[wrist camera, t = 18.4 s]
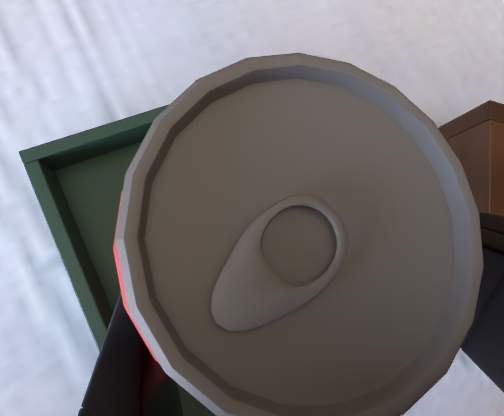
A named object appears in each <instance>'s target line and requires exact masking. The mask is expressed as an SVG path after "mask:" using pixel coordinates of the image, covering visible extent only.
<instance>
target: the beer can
mask: <svg viewBox="0 0 504 416" xmlns="http://www.w3.org/2000/svg"><path fill="white" fill-rule="evenodd" d="M113 251H114V256H115V262H116V267H117V272H118V278H119V283H120V289H121V294H122V299H123V305H124V308H125V310H126V311H127V313H128V315H129V316H130V318H131V320H132V322H133V323H134V325H135V327H136V328H137V330H138V332H139V334H140V335H141V337H142V339H143V341H144V342H145V344H146V346H147V347H148V349H149V351H150V353H151V354H152V356H153V358H154V359H155V360H156V361H157V362H158V363H160V365H161V367H162V368H163V370H164V372H165V373H166V374H167V375H168V376H170V377H171V378H172V379H173V380H174V381H176V382H177V383H178V384H179V385H180V386H182V387H183V388H184V389H185V390H186V391H188V392H189V393H190V394H191V395H192V396H194V397H195V398H196V399H197V400H198V401H200V402H201V403H202V404H203V405H204V406H205V407H207V408H208V409H209V410H210V411H211V412H213V413H214V414H215V415H216V416H400V415H402V414H405V413H406V412H407V411H408V410H409V409H410V408H411V407H412V406H413V405H414V404H415V403H416V402H417V401H418V400H419V399H420V398H421V397H422V396H423V395H424V394H425V393H426V392H427V391H428V390H429V389H431V388H432V387H433V386H434V385H435V384H436V383H437V382H438V381H439V380H440V379H441V378H442V377H443V376H444V375H445V374H446V373H447V371H448V369H449V368H450V366H451V364H452V362H453V360H454V358H455V356H456V354H457V352H458V350H459V348H460V346H461V344H462V343H463V341H464V339H465V337H466V335H467V333H468V331H469V329H470V327H471V325H472V323H473V320H474V315H475V309H476V304H477V299H478V293H479V288H480V283H481V277H482V272H483V267H484V265H483V254H482V242H481V230H480V219H479V212H478V209H477V206H476V203H475V200H474V198H473V195H472V192H471V189H470V186H469V183H468V181H467V178H466V175H465V172H464V169H463V166H462V164H461V162H460V161H459V159H458V158H457V156H456V155H455V153H454V152H453V150H452V149H451V147H450V146H449V144H448V143H447V141H446V140H445V138H444V137H443V135H442V134H441V132H440V131H439V129H438V128H437V126H436V125H435V123H434V122H433V121H432V120H431V119H430V118H429V117H428V116H427V115H426V114H425V113H423V112H422V111H421V110H420V109H419V108H418V107H417V106H416V105H415V104H413V103H412V102H411V101H410V100H409V99H408V98H407V97H406V96H405V95H403V94H402V93H401V92H400V91H399V90H398V89H397V88H396V87H394V86H393V85H391V84H389V83H387V82H385V81H383V80H381V79H379V78H377V77H375V76H373V75H371V74H369V73H367V72H365V71H363V70H361V69H359V68H357V67H356V66H354V65H352V64H350V63H346V62H341V61H336V60H331V59H326V58H321V57H317V56H312V55H307V54H302V53H292V54H282V55H272V56H262V57H251V58H245V59H243V60H241V61H239V62H236V63H234V64H232V65H229V66H227V67H225V68H223V69H220V70H218V71H216V72H214V73H211V74H209V75H207V76H204V77H202V78H200V79H198V80H196V81H195V82H194V83H193V84H192V85H191V86H190V87H189V88H187V89H186V90H185V91H184V92H183V93H182V94H181V95H180V96H179V97H178V98H177V99H176V100H174V101H173V102H172V103H171V104H170V105H169V106H168V107H167V108H166V109H165V110H164V111H163V112H161V113H160V114H159V115H158V116H157V117H156V118H155V119H154V121H153V123H152V125H151V126H150V128H149V130H148V132H147V134H146V136H145V138H144V140H143V142H142V143H141V145H140V147H139V149H138V151H137V153H136V155H135V157H134V158H133V160H132V162H131V164H130V166H129V168H128V170H127V172H126V174H125V179H124V186H123V191H122V193H121V200H120V206H119V213H118V219H117V226H116V233H115V239H114V246H113Z"/></svg>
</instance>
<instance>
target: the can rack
mask: <svg viewBox="0 0 504 416" xmlns="http://www.w3.org/2000/svg"><path fill="white" fill-rule="evenodd" d="M438 129H439V131H440V132H441V134H442V135H443V137H444V138H445V140H446V141H447V143H448V144H449V146H450V147H451V149H452V150H453V152H454V153H455V155H456V156H457V158H458V159H459V161H460V162H461V164H462V166H463V169H464V172H465V175H466V178H467V181H468V183H469V186H470V189H471V192H472V195H473V198H474V200H475V203H476V206H477V209H478V211H481V212H486V213H491V214H497V215H503V216H504V104H501V103H498V102H495V101H491V100H490V101H487V102H486V103H484V104H482V105H480V106H478V107H476V108H474V109H472V110H471V111H469V112H467V113H465V114H463V115H461V116H459V117H458V118H456V119H454V120H452V121H450V122H448V123H446V124H444V125H443V126H441V127H439V128H438Z"/></svg>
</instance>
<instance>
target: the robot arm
mask: <svg viewBox="0 0 504 416" xmlns="http://www.w3.org/2000/svg"><path fill="white" fill-rule="evenodd" d="M478 212H479V219H480V230H481V242H482V254H483V265H484V267H483V272H482V277H481V283H480V288H479V293H478V299H477V304H476V309H475V315H474V320H473V323H472V325H471V327H470V329H469V331H468V333H467V335H466V337H465V339H464V341H463V343H462V344H461V346H460V348H462V350H463V351H464V352H465V353H466V354H467V356H468V357H469V358H470V359H471V360H472V361H473V362H474V363H475V364H476V365H477V366H478V367H479V368H480V369H481V370H482V371H483V372H484V373H485V374H486V375H487V376H488V377H489V378H490V379H491V380H492V381H493V382H494V383H495V384H496V385H497V386H498V387H499V388H500V389H501V390H502V391H503V392H504V216H503V215H497V214H491V213H486V212H481V211H478ZM82 407H83V408H81V409H80V410H79V413H78V416H184V415H183V410H182V405H181V400H180V395H179V391H178V386H177V382H176V381H174V380H173V379H172V378H171V377H170V376H168V375H167V374H166V373H165V372H164V370H163V368H162V367H161V365H160V363H158V362H157V361H156V360H155V359H154V358H153V356H152V354H151V353H150V351H149V349H148V347H147V346H146V344H145V342H144V341H143V339H142V337H141V335H140V334H139V332H138V330H137V328H136V327H135V325H134V323H133V322H132V320H131V318H130V316H129V315H128V313H127V311H126V310H125V308H124V305H123V299H122V294H121V292H120V295H119V298H118V301H117V304H116V307H115V310H114V313H113V315H112V318H111V321H110V324H109V327H108V330H107V333H106V336H105V339H104V342H103V344H102V347H101V350H100V353H99V356H98V359H97V362H96V365H95V368H94V370H93V373H92V376H91V379H90V382H89V385H88V388H87V391H86V394H85V397H84V399H83V402H82Z"/></svg>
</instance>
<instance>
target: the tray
mask: <svg viewBox="0 0 504 416" xmlns="http://www.w3.org/2000/svg"><path fill="white" fill-rule="evenodd" d="M169 105H170V104H169ZM169 105H166V106H163V107H160V108H157V109H153V110H150V111H147V112H144V113H141V114H137V115H134V116H131V117H128V118H125V119H122V120H118V121H115V122H112V123H109V124H106V125H102V126H99V127H96V128H93V129H90V130H86V131H83V132H80V133H77V134H74V135H70V136H67V137H64V138H61V139H58V140H55V141H51V142H48V143H45V144H42V145H39V146H35V147H32V148H29V149H26V150H23V151H20V152H19V154H20V157H21V159H22V162H23V163H24V166H25V169H26V171H27V174H28V176H29V179H30V181H31V184H32V186H33V189H34V191H35V194H36V196H37V199H38V201H39V204H40V206H41V209H42V211H43V214H44V216H45V219H46V221H47V224H48V226H49V228H50V231H51V233H52V236H53V238H54V241H55V243H56V246H57V248H58V251H59V253H60V256H61V258H62V261H63V263H64V266H65V268H66V271H67V273H68V276H69V278H70V281H71V283H72V286H73V288H74V291H75V293H76V296H77V298H78V301H79V303H80V306H81V308H82V311H83V313H84V316H85V318H86V320H87V323H88V325H89V328H90V330H91V333H92V335H93V338H94V340H95V343H96V345H97V348H98V350H99V353H100V350H101V347H102V344H103V342H104V339H105V336H106V333H107V330H108V327H109V324H110V321H111V318H112V315H113V313H114V310H115V307H116V304H117V301H118V298H119V295H120V292H121V289H120V283H119V278H118V272H117V267H116V262H115V256H114V251H113V246H114V239H115V233H116V226H117V219H118V213H119V206H120V200H121V193H122V191H123V186H124V179H125V174H126V172H127V170H128V168H129V166H130V164H131V162H132V160H133V158H134V157H135V155H136V153H137V151H138V149H139V147H140V145H141V143H142V142H143V140H144V138H145V136H146V134H147V132H148V130H149V128H150V126H151V125H152V123H153V121H154V119H155V118H156V117H157V116H158V115H159V114H160V113H161V112H163V111H164V110H165V109H166V108H167V107H168V106H169ZM177 386H178V391H179V395H180V400H181V405H182V410H183V415H184V416H216V415H215V414H214V413H213V412H211V411H210V410H209V409H208V408H207V407H205V406H204V405H203V404H202V403H201V402H200V401H198V400H197V399H196V398H195V397H194V396H192V395H191V394H190V393H189V392H188V391H186V390H185V389H184V388H183V387H182V386H180V385H179V384H178V383H177Z"/></svg>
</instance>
